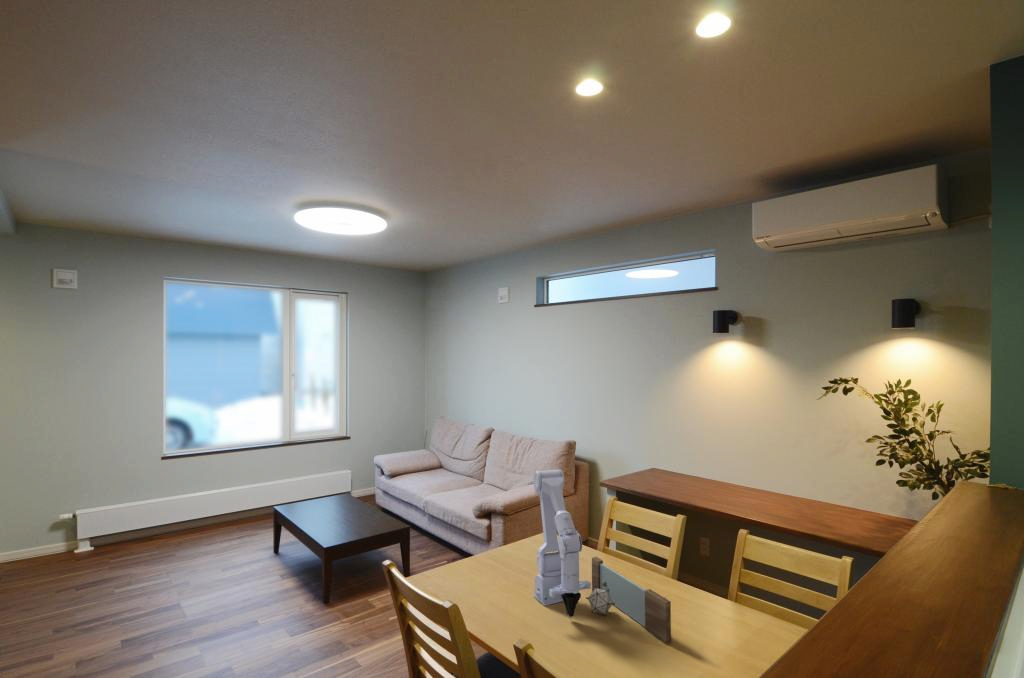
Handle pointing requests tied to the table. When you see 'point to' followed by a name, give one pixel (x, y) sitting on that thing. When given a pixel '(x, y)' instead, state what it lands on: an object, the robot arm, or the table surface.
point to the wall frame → (646, 608)
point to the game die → (600, 601)
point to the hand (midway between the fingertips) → (570, 615)
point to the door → (624, 593)
